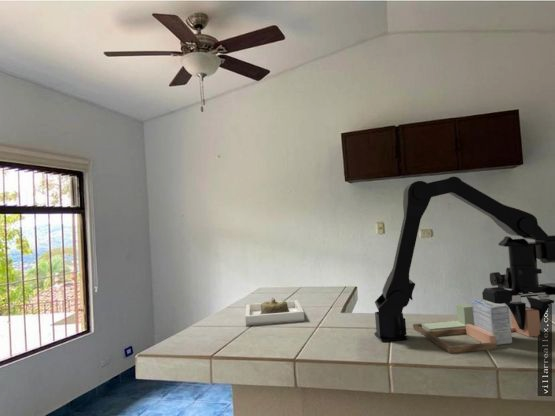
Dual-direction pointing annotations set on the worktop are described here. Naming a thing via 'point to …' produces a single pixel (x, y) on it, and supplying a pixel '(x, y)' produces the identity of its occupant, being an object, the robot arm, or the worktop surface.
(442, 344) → the lane rails
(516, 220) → the robot arm
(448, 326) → the sage green stepped block
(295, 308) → the white ceramic dish
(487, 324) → the medicine box
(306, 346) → the worktop surface
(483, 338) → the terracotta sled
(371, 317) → the worktop surface
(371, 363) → the worktop surface
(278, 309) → the cake
